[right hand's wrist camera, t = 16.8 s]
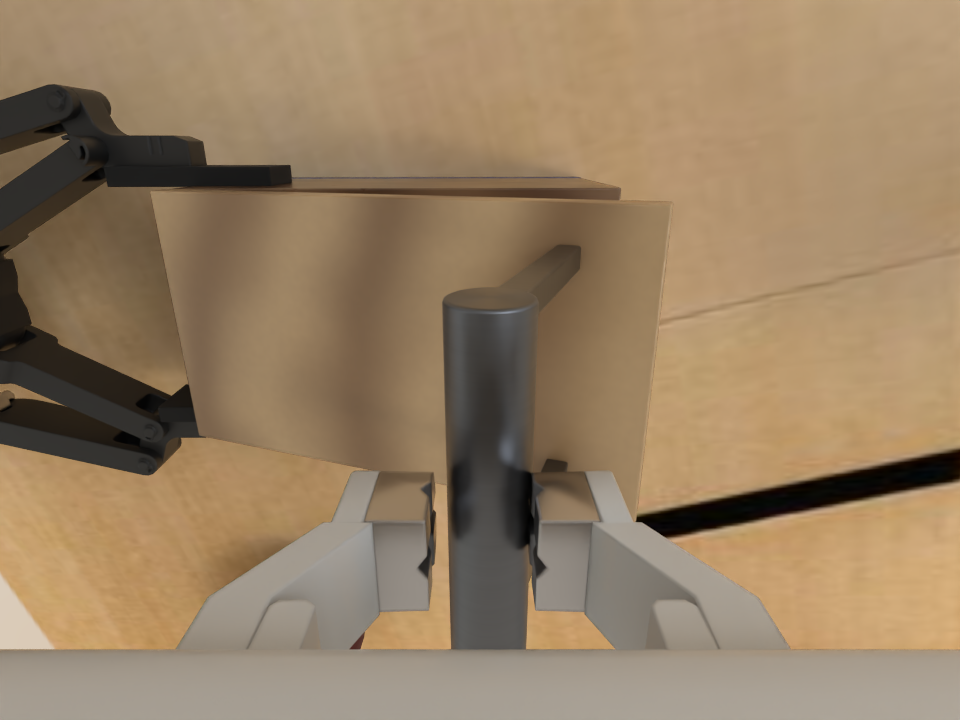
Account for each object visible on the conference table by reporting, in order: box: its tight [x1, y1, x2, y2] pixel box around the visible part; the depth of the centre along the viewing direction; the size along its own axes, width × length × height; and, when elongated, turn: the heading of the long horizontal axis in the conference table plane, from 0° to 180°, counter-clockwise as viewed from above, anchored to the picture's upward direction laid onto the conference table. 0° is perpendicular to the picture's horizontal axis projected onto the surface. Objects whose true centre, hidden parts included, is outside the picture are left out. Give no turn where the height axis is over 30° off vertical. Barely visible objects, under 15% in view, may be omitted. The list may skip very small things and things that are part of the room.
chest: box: [175, 177, 621, 200], centre depth 27 cm, size 17×10×9 cm, turn 90°
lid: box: [150, 189, 673, 649], centre depth 16 cm, size 18×10×9 cm, turn 90°
